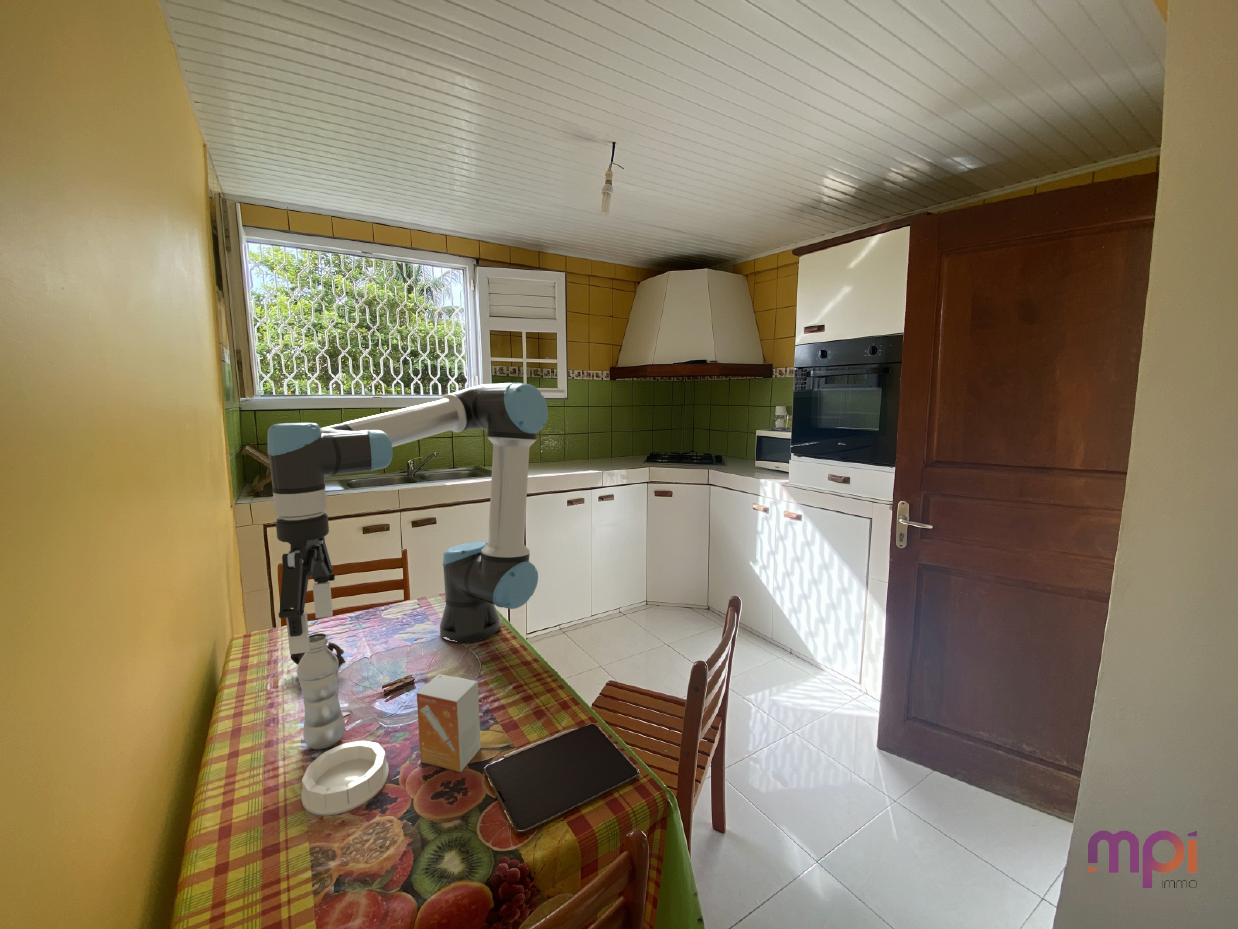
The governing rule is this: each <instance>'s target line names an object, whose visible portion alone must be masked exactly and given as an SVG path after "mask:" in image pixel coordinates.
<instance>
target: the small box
mask: <svg viewBox="0 0 1238 929" xmlns="http://www.w3.org/2000/svg"><path fill="white" fill-rule="evenodd" d="M479 700H480V699H479V681H477V680H472V679H467V678H464V677H459V676H453V675H446V674H441V673H438V674H437V675H436V676H434V678H432V679H431V680H430V681H429V682H427V683H426V685H424V686H423V687H422V688H420V690H418V691H417V692H416V703H417V704H416V705H417V706H416V708H417V719H418V720H417V722H418V737H419V738H418V740H419V756H420V762H421V763H423V764H426V765H427V764H428V765H432V766H437V767H440V768H443V769H448V770H452V771H455V772H457V773H462V772H463V770H465V768H466V767H467V765H468V764H469V763H470V762H471V761H472V759H473V758H474V757H475V756H476V755H477V753H478V752H479V751H480V750H481V746H482V745H481V744H482V743H481V741H482V740H481V723H480V705H479V704H480V702H479Z"/></svg>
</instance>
